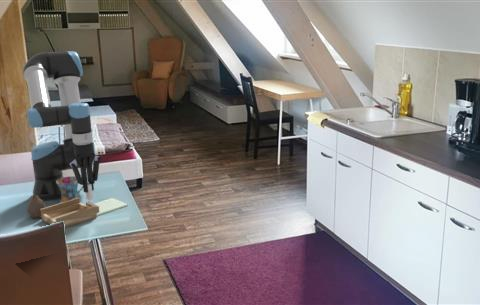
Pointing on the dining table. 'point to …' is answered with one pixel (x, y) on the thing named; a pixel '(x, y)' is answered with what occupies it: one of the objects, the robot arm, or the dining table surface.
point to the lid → (107, 205)
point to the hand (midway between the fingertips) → (89, 198)
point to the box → (68, 213)
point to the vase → (35, 207)
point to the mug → (68, 188)
